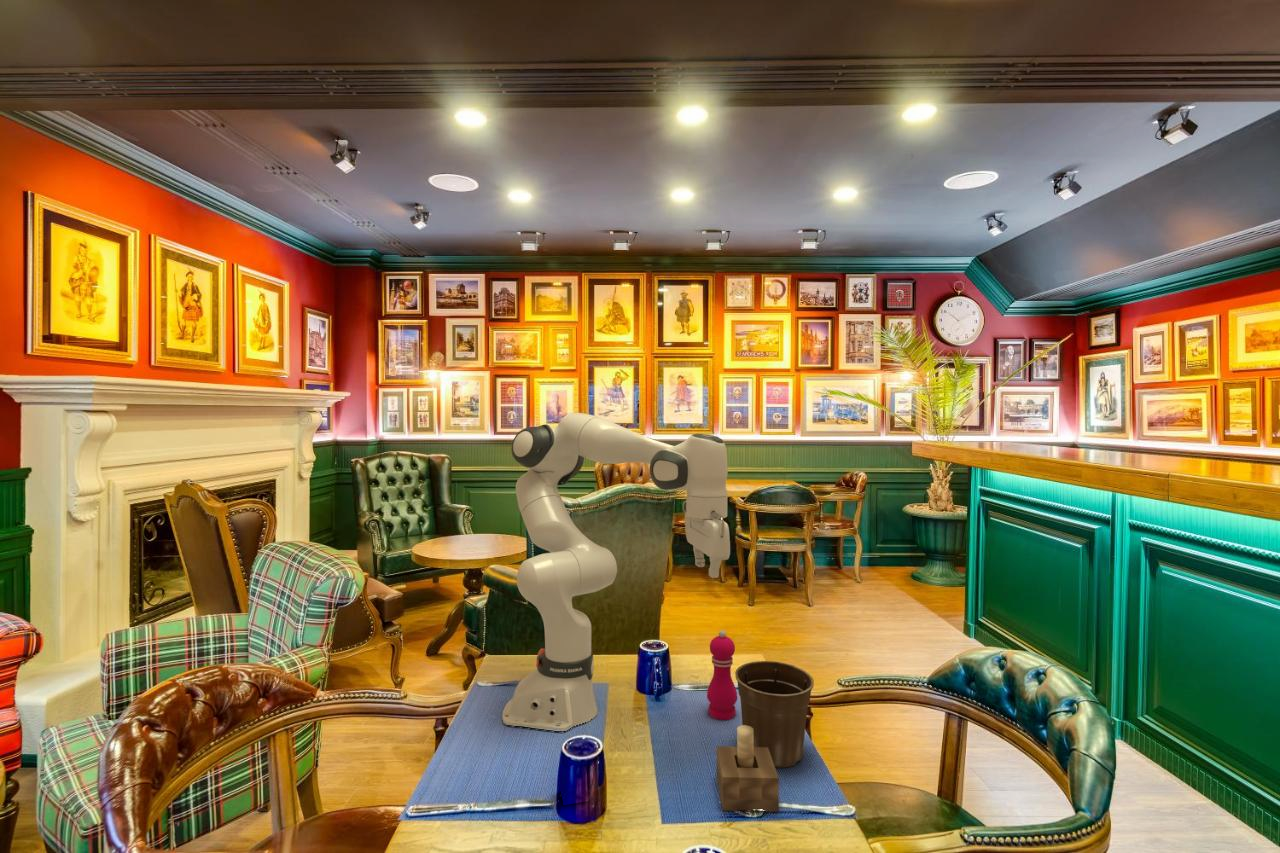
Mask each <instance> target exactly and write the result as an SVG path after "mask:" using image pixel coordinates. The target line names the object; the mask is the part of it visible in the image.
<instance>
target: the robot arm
mask: <svg viewBox="0 0 1280 853" xmlns="http://www.w3.org/2000/svg"><path fill="white" fill-rule="evenodd" d="M510 449H511V451H510V452H511V455H512V458H513V459H514V460H515V461H516V462H517V463H518V464H519V465H521V466H522V467H524V468H527V469H528V471H527V472H525V473H524V474H521V475H520V477H519V478H518V479H517V481H516V484H515V495H516V501H517V504H518V505H517V506H518V509H519V512H520V514H521V517H522V520H523V523H524V525H525V526H524V527H525V528H526V531H527V533H528V536H529V538H530V540H531V542H532V543H533V544H534V545H535V546H536V547H538V548H540V549H543V550H545V551H548V552H546V553H545V552H544V553H541V554H538V555H535V556H532V557H530V558H527V559H525V560H523V561H522V562H521V564H520V565H519V567H518V570H517V574H516V585H517V588H518V591H519V593H520V594H521V596H522V597H523V598H524V599H525V600H526V601H528V602H529V603H531V604H532V605H533V606H534V607H535V608H536V609H537V610H538V612H539V614H540V616H541V619H542V622H543V627H544V628H543V629H544V644H545V645H544V648H540V649H539V650H538V653H537V657H536V662H535V664H536V666H535V667H536V668H535V669H534V670H532V671H531V672H530V673H528V674H527V675H526V676H525V677H523V678H522V679H521V680H520V681H519V683H518V684H517V685H516V688H515V689H514V691H513V692H514V693H513V696H512V697H511V699H510V700H509V701H507V703H506V704H505V706H504V707H503V708H504V709H503V711H502V715H501V716H502V717H501V721H502V720H503V721H502V723H503V722H504V723H505V724H507V725H515V726H525V727H532V728H540V729H541V728H542V729H550V730H551V729H552V730H561V731H564V730H568V729H570V728H571V727H573V726H575V727H577V726H576V725H578V726H580V725H579V724H581V725H583V724H582V723H584V724H586V723H588V722H590V721H592V720H593V719H594V718H595V717H597V715H598V712H599V710H598V709H599V708H598V706H597V702H596V697H595V693H594V685H593V675H594V653H593V651H592V622H591V621H590V618H589V617H588V615H586V614H585V613H584V612H582V611H580V610H578V609H576V608H574V606H573V600H572V599H573V598H574V597H576V596H583V595H586V594H591V593H592V594H593V593H597V592H598V591H601V590H603V589H605V588H607V587H609V586H611V585H612V584H613V583H614V582H615V580H616V578H617V573H618V565H617V560H616V558H615V556H614V554H613V552H612V551H610V549H608V548H606V547H603V546H601V545H599V544H597V543H595V542H594V541H592V540H591V539H590V538H588V537H587V536H586V535H584V534H583V533H582V532H581V530H580V529H579V528H578V527H577V526H576V524H575V523H574V521H573V520H572V518H571V516H570V514H569V512H568V510H567V508H566V506H565V504H564V501H563V498H562V496H561V495H560V494H561V493H560V492H559V489H558V486H563V485H565V484H567V483H568V481H569V480H571V479H573V478H574V477H575V476H577V474H578V473H579V472H580V471H581V469H582V467H583V464H584V460H585V459H587V460H590V461H591V462H596V463H601V464H607V465H608V464H609V465H612V464H625V463H629V464H630V463H640V464H641V463H643V464H649V474H650V478H651V481H652V482H653V484H654V485H655V486H656V487H657V488H658V489H660V490H663V491H668V492H672V491H673V492H674V491H682V490H686V500H684V501H683V503H682V511H683V512H684V513H685V514H684V525H685V537H686V541H687V543H689V544H690V545H692V547H693V554H694V559H695V560H694V562H695V563H694V564H695V566H697V567H698V568H704V567H705V566H706V560H705V556H704V555H706V556H707V557H709V562H710V564H709V568H708V576H709V577H710V578H712V579H717V578H719V576H720V573H719V572H720V568H721V564H722V561H726V560H729V558H730V555H731V541H730V540H731V539H730V537H731V536H730V528H729V527H730V526H729V524H728V523H727V522H726V521H724V519H725V518H727V517H728V490H727V484H726V483H727V480H728V479H727V478H728V472H729V471H728V468H729V467H728V452H727V446H726V443H725V441H724V440H723V439H722V438H721V437H719V436H715V435H713V434H709V433H707V434H705V433H693V434H691V435H690V436H689V437H688V438H687V439H686V440H684V441H682V442H681V443H678V444H677V445H673V444H671V443H667V442H664V441H661V440H657V439H654V438H651V437H648V436H645V435H643V434H641V433H639V432H636V431H633V430H630V429H629V428H626V427H625V426H622V425H619V424H617V423H615V422H613V421H611V420H609V419H608V420H607V419H605V418H603V417H599V416H597V415H593V414H588V413H583V412H570V413H568V414H566V415H564V416H563V417H562V418H561V420H560V421H559V423H558V424H557V426H555V427H553V428H552V427H550V425H549V424H547V423H546V424H542V425H539V426H528V427H525V428H523V429H521V430H519V432H517V433H516V435H515V436H514V438H513V440H512V443H511V448H510ZM591 719H592V720H591ZM585 722H586V723H585ZM504 723H503V724H504ZM505 724H504V725H505ZM507 725H506V726H507ZM557 726H559V727H557ZM573 728H574V727H573ZM571 729H572V728H571ZM571 729H570V730H571ZM568 731H569V730H568Z"/></svg>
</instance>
